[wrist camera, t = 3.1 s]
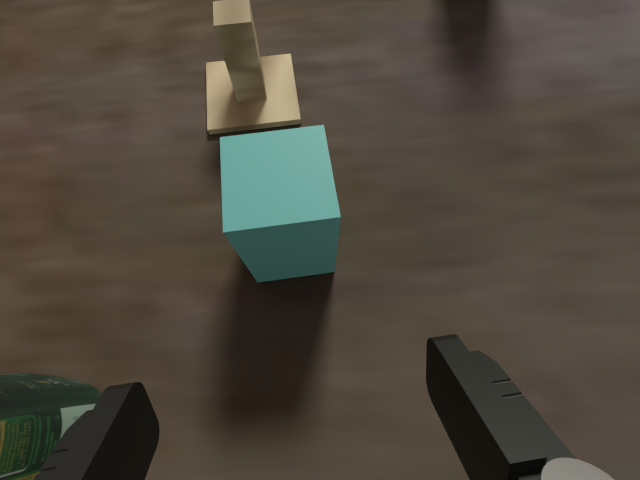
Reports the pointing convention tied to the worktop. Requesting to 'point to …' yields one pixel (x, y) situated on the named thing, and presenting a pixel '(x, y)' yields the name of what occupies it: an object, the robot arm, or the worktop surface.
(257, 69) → the post
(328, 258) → the teal tower prism
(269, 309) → the worktop surface
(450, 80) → the worktop surface
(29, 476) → the coffee jar
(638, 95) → the worktop surface
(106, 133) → the worktop surface
